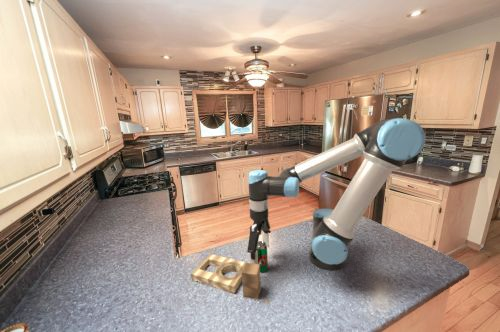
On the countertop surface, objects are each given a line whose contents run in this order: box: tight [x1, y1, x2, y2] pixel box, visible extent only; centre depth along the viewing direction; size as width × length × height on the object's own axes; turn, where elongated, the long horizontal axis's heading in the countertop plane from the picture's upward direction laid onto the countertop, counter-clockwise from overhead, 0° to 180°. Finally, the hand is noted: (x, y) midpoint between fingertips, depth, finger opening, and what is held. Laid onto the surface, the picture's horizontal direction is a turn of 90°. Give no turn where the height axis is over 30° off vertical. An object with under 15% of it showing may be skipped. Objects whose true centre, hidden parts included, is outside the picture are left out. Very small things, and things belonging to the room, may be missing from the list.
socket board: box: [190, 253, 247, 294], centre depth 86 cm, size 20×14×3 cm
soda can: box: [256, 240, 269, 273], centre depth 87 cm, size 5×5×12 cm
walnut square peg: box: [241, 262, 262, 300], centre depth 76 cm, size 6×6×10 cm
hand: (260, 255), depth 87 cm, fingers open, 13 cm apart
